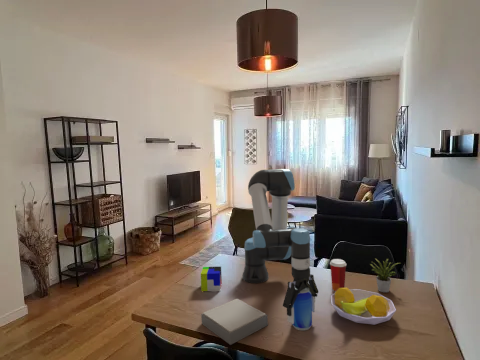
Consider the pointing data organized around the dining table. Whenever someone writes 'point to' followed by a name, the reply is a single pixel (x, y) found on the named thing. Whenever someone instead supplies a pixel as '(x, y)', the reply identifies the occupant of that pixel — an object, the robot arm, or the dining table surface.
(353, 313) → the fruit bowl
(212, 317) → the plinth
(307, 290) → the beer can
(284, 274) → the dining table surface
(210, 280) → the puzzle toy
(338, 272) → the coffee cup
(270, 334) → the dining table surface
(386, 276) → the house plant
